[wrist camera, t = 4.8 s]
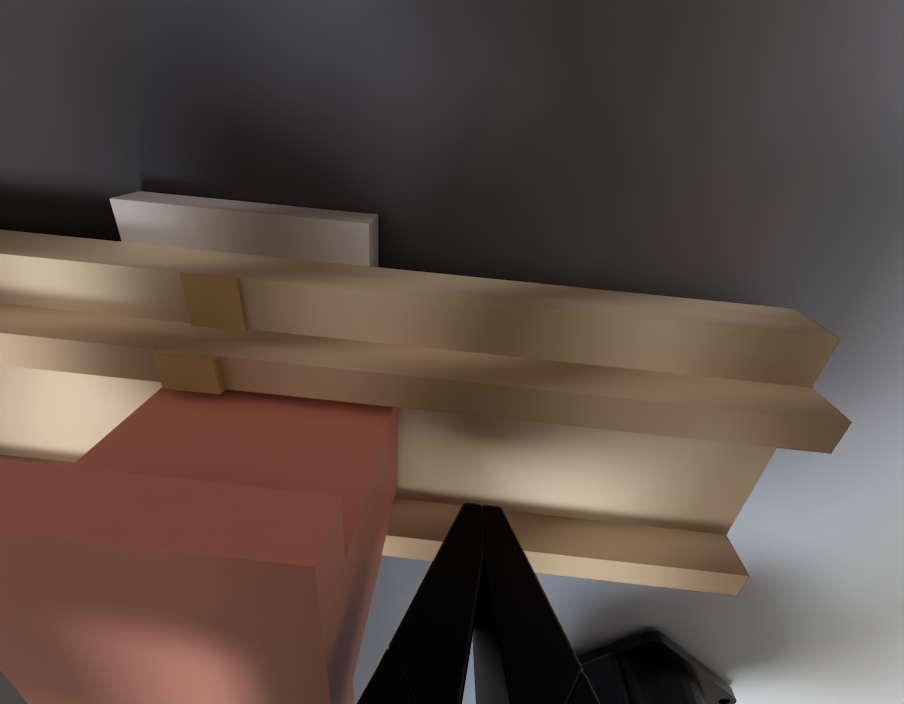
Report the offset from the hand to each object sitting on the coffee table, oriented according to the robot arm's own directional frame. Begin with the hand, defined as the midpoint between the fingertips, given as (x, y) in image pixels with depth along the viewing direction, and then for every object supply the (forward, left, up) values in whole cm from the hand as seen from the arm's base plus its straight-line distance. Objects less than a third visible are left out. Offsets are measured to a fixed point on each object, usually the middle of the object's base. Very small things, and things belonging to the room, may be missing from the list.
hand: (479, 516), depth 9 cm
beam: (+5, +4, -4) cm, 8 cm away
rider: (+4, +3, -2) cm, 5 cm away
